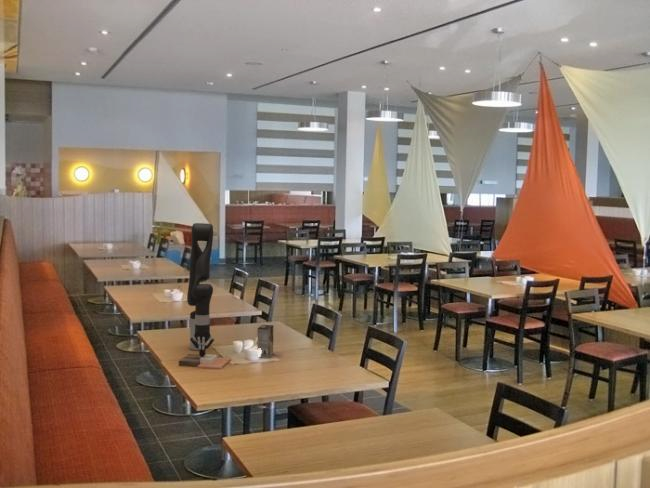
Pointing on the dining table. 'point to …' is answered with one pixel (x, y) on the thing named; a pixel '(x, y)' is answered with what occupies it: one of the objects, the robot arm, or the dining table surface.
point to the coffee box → (265, 340)
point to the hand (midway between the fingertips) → (202, 356)
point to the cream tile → (208, 359)
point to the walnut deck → (190, 360)
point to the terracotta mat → (216, 364)
